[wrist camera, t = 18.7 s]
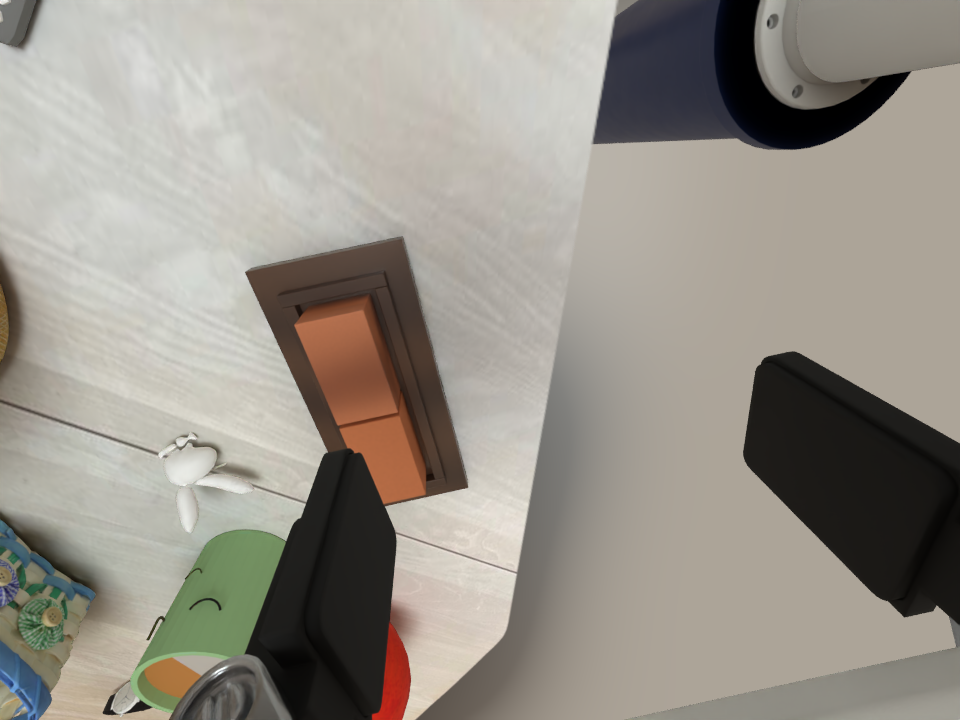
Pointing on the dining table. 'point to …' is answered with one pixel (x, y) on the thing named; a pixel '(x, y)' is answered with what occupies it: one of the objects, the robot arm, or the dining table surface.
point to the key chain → (14, 20)
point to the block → (390, 453)
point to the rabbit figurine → (196, 477)
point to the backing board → (399, 332)
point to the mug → (208, 616)
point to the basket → (34, 626)
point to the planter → (3, 324)
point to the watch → (124, 702)
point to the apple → (395, 680)
